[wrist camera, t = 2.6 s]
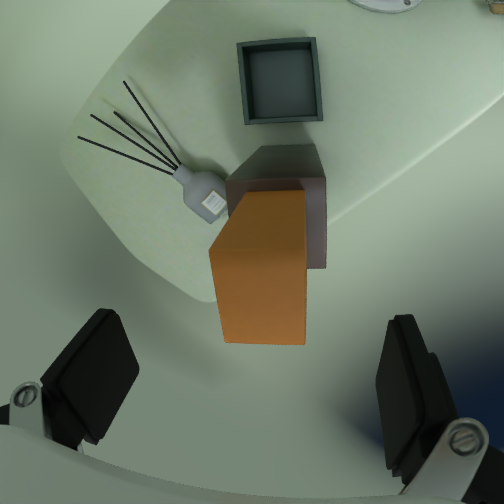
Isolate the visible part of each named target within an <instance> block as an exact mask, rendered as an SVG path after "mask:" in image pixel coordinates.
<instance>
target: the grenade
mask: <svg viewBox="0 0 504 504" xmlns="http://www.w3.org/2000/svg"><path fill="white" fill-rule="evenodd" d="M500 1H501V2H493V3H491V4H490V3H489V2H488V1H487V0H486V2H487V3H488V4H489V5H490V11H491V12H492V13H493V14H504V0H503V1H502V0H500Z"/></svg>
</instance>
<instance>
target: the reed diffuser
mask: <svg viewBox="0 0 504 504" xmlns="http://www.w3.org/2000/svg"><path fill="white" fill-rule="evenodd" d="M123 83H124V85H125V86H126V88H127V89H128V91H129V92H130V94H131V95H132V97H133V98H134V100H135V101H136V102H137V104H138V105H139V107H140V108H141V110H142V111H143V113H144V114H145V116H146V117H147V119H148V120H149V121H150V123H151V124H152V126H153V127H154V129H155V130H156V132H157V133H158V135H159V136H160V138H161V139H162V140H163V142H164V143H165V145H166V146H167V148H168V149H169V151H170V152H171V154H172V155H173V156H174V158H175V159H176V161H177V162H178V164H179V165H180V166H179V167H178V166H177V165H176V164H175V163H173V162H172V161H171V160H170V159H169V158H168V157H167V156H165V155H164V154H163V153H162V152H161V151H160V150H159V149H157V148H156V147H155V146H154V145H153V144H152V143H151V142H149V141H148V140H147V139H146V138H145V137H144V136H143V135H141V134H140V133H139V132H138V131H137V130H136V129H135V128H133V127H132V126H131V125H130V124H129V123H128V122H127V121H125V120H124V119H123V118H122V117H121V116H120V115H118V114H117V113H116V112H115V111H114V112H113V113H114V114H115V115H116V116H118V117H119V118H120V119H121V120H122V121H123V122H124V123H126V124H127V125H128V126H129V127H130V128H131V129H132V130H134V131H135V132H136V133H137V134H138V135H139V136H140V137H141V138H143V139H144V140H145V141H146V142H147V143H148V144H149V145H151V146H152V147H153V148H154V149H155V150H156V151H157V152H159V153H160V154H161V155H162V156H163V157H164V158H165V159H166V160H168V161H169V162H170V163H171V164H172V165H173V166H174V167H173V166H172V165H170V164H168V163H167V162H165V161H164V160H162V159H161V158H159V157H158V156H156V155H155V154H153V153H152V152H150V151H149V150H147V149H146V148H144V147H143V146H141V145H139V144H138V143H136V142H135V141H133V140H132V139H130V138H129V137H127V136H126V135H124V134H122V133H121V132H119V131H118V130H116V129H115V128H113V127H111V126H110V125H108V124H107V123H105V122H104V121H102V120H100V119H99V118H97V117H96V116H94V115H93V114H91V115H90V116H91V117H93V118H95V119H96V120H98V121H99V122H101V123H102V124H104V125H106V126H107V127H109V128H110V129H112V130H113V131H115V132H116V133H118V134H120V135H121V136H123V137H124V138H126V139H127V140H129V141H130V142H132V143H133V144H135V145H137V146H138V147H140V148H141V149H143V150H144V151H146V152H147V153H149V154H150V155H152V156H153V157H155V158H156V159H158V160H160V161H161V162H163V163H164V164H166V165H167V166H169V167H170V168H172V169H173V170H175V172H174V173H171V172H168V171H166V170H163V169H161V168H159V167H156V166H154V165H151V164H149V163H146V162H144V161H141V160H139V159H136V158H134V157H131V156H129V155H126V154H124V153H121V152H119V151H116V150H114V149H111V148H109V147H106V146H104V145H101V144H98V143H96V142H93V141H91V140H88V139H85V138H83V137H80V136H78V137H77V138H79V139H81V140H84V141H87V142H89V143H92V144H95V145H97V146H100V147H102V148H105V149H107V150H110V151H112V152H115V153H118V154H120V155H123V156H125V157H128V158H130V159H133V160H135V161H138V162H140V163H142V164H145V165H147V166H150V167H152V168H155V169H157V170H160V171H162V172H164V173H167V174H169V175H172V177H173V178H174V179H176V180H177V181H178V182H179V183H180V184H181V185H182V186H183V199H184V203H185V204H186V205H187V206H188V207H189V208H190V209H191V210H192V211H194V212H195V213H196V214H197V215H199V216H200V217H201V218H203V219H204V220H205V221H207V222H208V223H209V224H212V223H213V222H214V221H216V220H217V219H218V218H219V217H220V216H221V215H222V213H223V212H224V211H225V210H226V209H227V199H226V191H225V183H224V181H223V180H222V179H221V178H220V177H219V176H217V175H216V174H215V173H213V172H211V171H205V172H199V173H194V172H193V171H191V170H190V169H189V168H188V167H187V166H185V165H184V164H183V163H182V164H181V162H180V161H179V159H178V158H177V157H176V155H175V154H174V152H173V151H172V149H171V148H170V146H169V145H168V143H167V142H166V141H165V139H164V138H163V136H162V135H161V133H160V132H159V130H158V129H157V127H156V126H155V125H154V123H153V122H152V120H151V119H150V117H149V116H148V114H147V113H146V111H145V110H144V109H143V107H142V106H141V104H140V103H139V101H138V100H137V98H136V97H135V95H134V94H133V92H132V91H131V89H130V88H129V87H128V85H127V84H126V82H125V81H123ZM176 168H177V169H176Z"/></svg>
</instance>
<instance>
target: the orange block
mask: <svg viewBox="0 0 504 504" xmlns="http://www.w3.org/2000/svg"><path fill="white" fill-rule="evenodd" d="M209 257H210V263H211V269H212V275H213V280H214V286H215V292H216V298H217V303H218V309H219V314H220V319H221V324H222V330H223V335H224V341H225V342H226V343H245V344H246V343H247V344H277V345H304V344H305V338H306V337H305V336H306V300H307V298H306V297H307V296H306V295H307V237H306V203H305V190H285V191H259V192H246V193H245V195H244V196H243V198H242V199H241V201H240V202H239V204H238V205H237V207H236V208H235V210H234V211H233V213H232V214H231V216H230V218H229V219H228V221H227V222H226V224H225V225H224V227H223V228H222V230H221V232H220V233H219V235H218V236H217V238H216V239H215V241H214V243H213V244H212V246H211V247H210V249H209Z"/></svg>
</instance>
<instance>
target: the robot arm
mask: <svg viewBox="0 0 504 504" xmlns="http://www.w3.org/2000/svg"><path fill="white" fill-rule="evenodd" d="M349 1H350V2H352V3H354V4H356V5H358V6H360V7H362V8H365V9H369V10H372V11H376V12H382V13H399V12H404V11H407V10H410V9H412V8H413V7H415V6H417V5H418V4H419V3H420V2H421V1H422V0H349ZM404 3H406V4H407V5H405V4H404ZM138 373H139V364H138V362H137V360H136V357H135V355H134V352H133V350H132V348H131V345H130V343H129V340H128V338H127V335H126V333H125V330H124V327H123V325H122V322H121V320H120V317H119V315H118V314H116V312H115V311H114V310H112V309H103V308H100V309H98V310H97V311H96V312H95V313H94V314H93V315H92V317H91V318H90V319H89V320H88V321H87V323H86V324H85V325H84V326H83V327H82V328H81V329H80V331H79V332H78V333H77V334H76V335H75V336H74V338H73V339H72V340H71V341H70V343H69V344H68V345H67V346H66V347H65V348H64V350H63V351H62V352H61V354H60V355H59V356H58V357H57V358H56V360H55V361H54V362H53V363H52V364H51V366H50V367H49V368H48V369H47V371H46V372H45V373H44V375H43V376H42V377H41V378H40V381H41V382H42V384H43V386H42V387H40V386H39V385H38V384H37V383H35V382H26V383H23V384H21V385H19V386H18V387H17V388H16V389H15V390H14V391H13V393H12V395H11V398H10V404H7V405H4V406H1V407H0V504H504V453H503V452H501V451H499V450H497V449H496V448H494V447H492V446H490V445H488V443H489V437H488V433H487V431H486V428H485V427H484V426H483V425H482V424H481V423H480V422H478V421H477V420H474V419H470V418H461V419H459V417H458V414H457V411H456V408H455V405H454V402H453V399H452V396H451V393H450V390H449V387H448V384H447V382H446V379H445V376H444V373H443V371H442V368H441V365H440V363H439V361H438V358H437V356H436V354H435V353H433V352H432V353H428V351H427V348H426V346H425V344H424V340H423V338H422V336H421V333H420V330H419V328H418V326H417V323H416V321H415V319H414V316H413V315H412V314H406V315H395V317H394V320H389V322H388V326H387V331H386V336H385V341H384V345H383V350H382V354H381V359H380V363H379V367H378V371H377V375H376V391H377V397H378V404H379V411H380V418H381V425H382V432H383V441H384V449H385V459H386V467H387V469H388V470H390V469H392V474H393V475H392V476H393V477H398V476H401V477H402V483H403V484H404V485H405V486H404V487H403V488H402V490H401V491H400V492H399V494H398V495H387V496H371V497H353V498H283V497H282V498H281V497H267V496H256V495H245V494H237V493H230V492H223V491H216V490H210V489H204V488H199V487H194V486H188V485H184V484H180V483H175V482H171V481H166V480H163V479H159V478H155V477H151V476H147V475H144V474H140V473H137V472H134V471H131V470H127V469H124V468H121V467H118V466H115V465H112V464H109V463H106V462H103V461H101V460H98V459H95V458H93V457H90V456H87V455H85V454H84V453H83V449H82V444H81V441H82V439H84V440H85V441H86V442H89V443H91V444H94V445H97V444H98V442H99V440H100V439H102V438H103V437H104V436H105V434H106V432H107V430H108V428H109V427H110V425H111V423H112V421H113V419H114V417H115V415H116V413H117V412H118V410H119V408H120V406H121V404H122V403H123V401H124V399H125V397H126V395H127V394H128V392H129V390H130V388H131V386H132V385H133V383H134V381H135V379H136V377H137V376H138Z"/></svg>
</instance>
